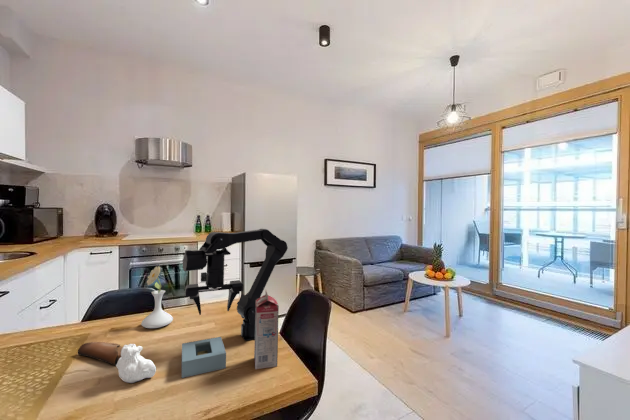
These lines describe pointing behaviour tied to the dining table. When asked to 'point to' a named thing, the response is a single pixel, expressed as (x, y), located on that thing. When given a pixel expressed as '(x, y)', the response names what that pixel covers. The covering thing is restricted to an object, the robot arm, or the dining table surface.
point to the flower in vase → (156, 305)
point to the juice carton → (266, 332)
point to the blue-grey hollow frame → (203, 356)
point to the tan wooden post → (202, 352)
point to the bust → (134, 364)
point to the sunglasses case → (102, 351)
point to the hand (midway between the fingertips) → (214, 312)
